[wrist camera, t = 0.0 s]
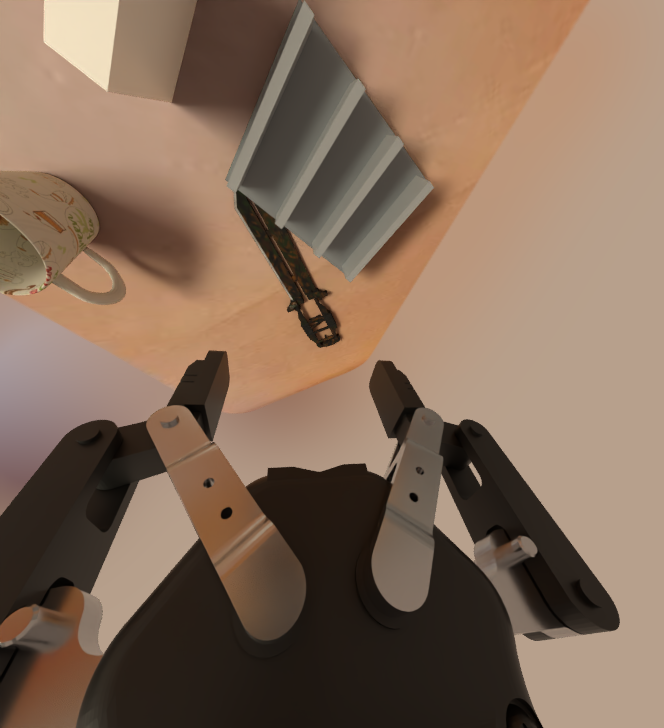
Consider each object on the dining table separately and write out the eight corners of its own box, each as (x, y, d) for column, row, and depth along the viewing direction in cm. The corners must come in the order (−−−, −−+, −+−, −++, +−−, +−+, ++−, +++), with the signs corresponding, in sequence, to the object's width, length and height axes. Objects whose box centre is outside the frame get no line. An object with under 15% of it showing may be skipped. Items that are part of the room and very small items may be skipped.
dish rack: (227, 178, 24) (217, 186, 21) (299, 3, 17) (300, -24, 14) (345, 272, 32) (351, 288, 29) (423, 179, 26) (441, 187, 23)
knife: (221, 179, 24) (218, 181, 23) (278, 154, 23) (278, 155, 22) (309, 347, 42) (309, 353, 41) (343, 337, 41) (344, 342, 40)
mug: (30, 132, 20) (-108, 136, 13) (167, 260, 28) (127, 304, 22) (-18, 189, 22) (-158, 219, 15) (123, 292, 31) (74, 341, 24)
